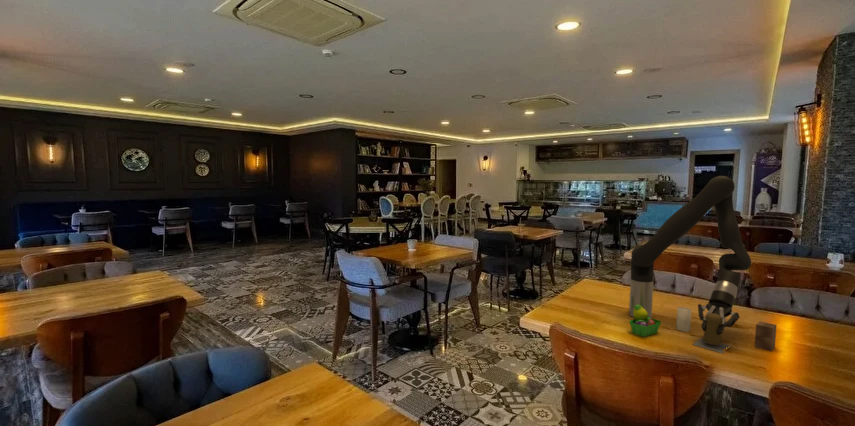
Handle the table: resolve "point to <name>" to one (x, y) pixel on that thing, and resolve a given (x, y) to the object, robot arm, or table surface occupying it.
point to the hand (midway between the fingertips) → (711, 331)
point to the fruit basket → (643, 322)
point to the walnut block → (765, 336)
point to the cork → (712, 329)
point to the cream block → (683, 319)
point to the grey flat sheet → (711, 346)
